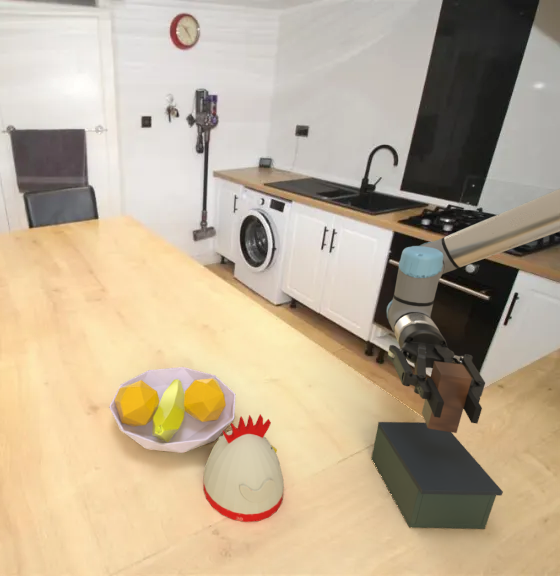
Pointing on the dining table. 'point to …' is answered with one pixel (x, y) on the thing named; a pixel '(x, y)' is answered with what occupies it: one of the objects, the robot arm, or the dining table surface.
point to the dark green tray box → (428, 496)
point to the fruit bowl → (173, 409)
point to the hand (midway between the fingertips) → (457, 412)
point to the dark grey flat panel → (437, 460)
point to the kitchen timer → (244, 473)
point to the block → (448, 396)
